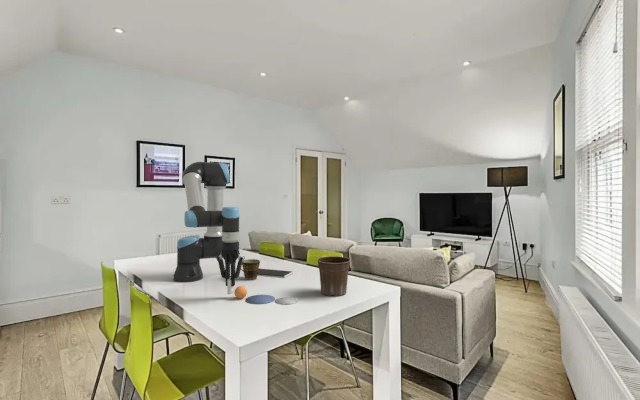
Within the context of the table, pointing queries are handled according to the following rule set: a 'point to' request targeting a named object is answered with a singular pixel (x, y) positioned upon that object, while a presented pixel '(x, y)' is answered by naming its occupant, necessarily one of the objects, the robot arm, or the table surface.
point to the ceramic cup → (250, 268)
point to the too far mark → (286, 300)
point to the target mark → (260, 299)
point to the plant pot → (333, 275)
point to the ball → (240, 292)
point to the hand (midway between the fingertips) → (230, 293)
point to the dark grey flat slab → (274, 273)
